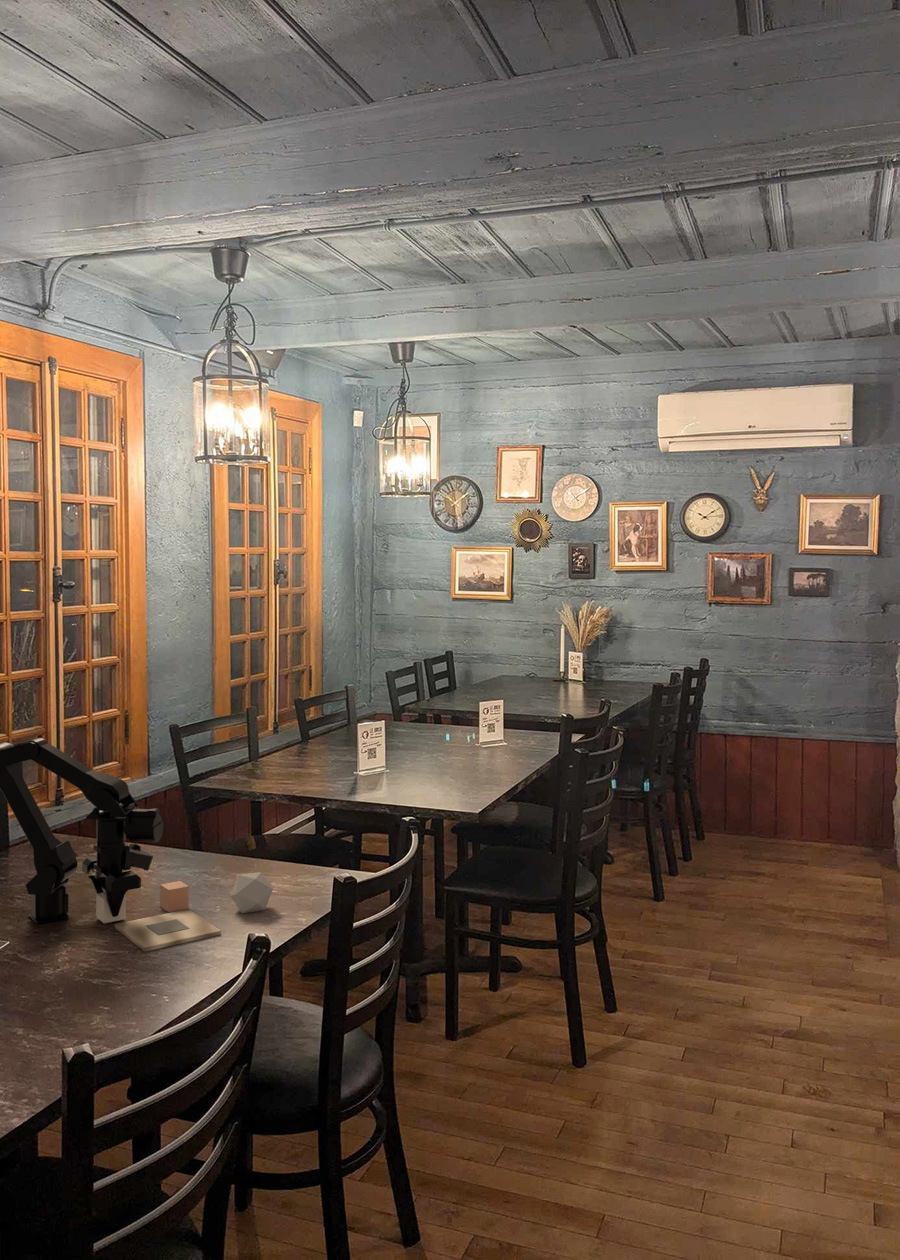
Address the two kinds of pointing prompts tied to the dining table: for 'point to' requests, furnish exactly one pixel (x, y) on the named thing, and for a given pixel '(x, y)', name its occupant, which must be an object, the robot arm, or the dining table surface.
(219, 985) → the dining table surface
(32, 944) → the dining table surface
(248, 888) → the die
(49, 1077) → the dining table surface
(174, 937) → the tan board
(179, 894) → the terracotta block
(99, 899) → the cream block
